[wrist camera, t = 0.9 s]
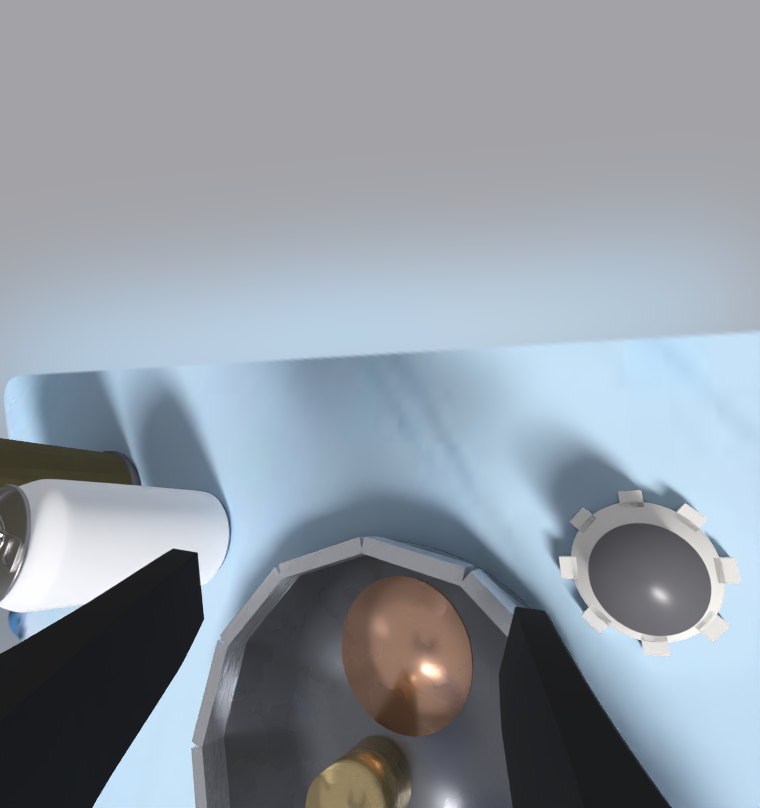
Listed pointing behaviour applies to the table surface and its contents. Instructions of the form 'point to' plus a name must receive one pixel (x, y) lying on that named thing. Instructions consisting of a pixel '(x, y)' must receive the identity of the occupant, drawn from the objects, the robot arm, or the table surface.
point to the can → (98, 538)
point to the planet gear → (648, 572)
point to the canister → (61, 464)
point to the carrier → (359, 685)
